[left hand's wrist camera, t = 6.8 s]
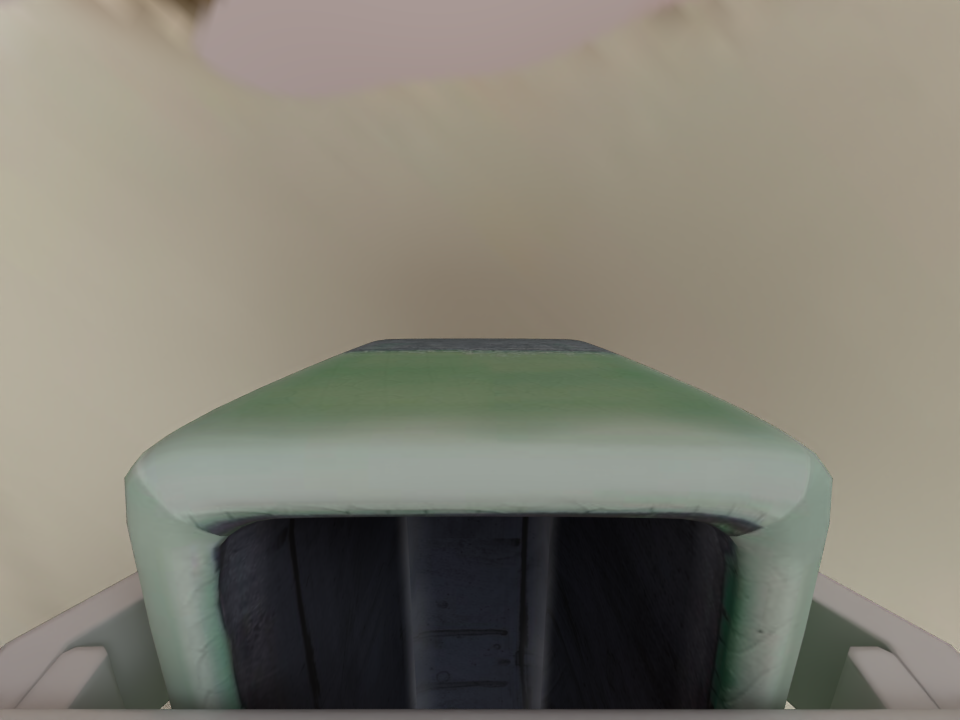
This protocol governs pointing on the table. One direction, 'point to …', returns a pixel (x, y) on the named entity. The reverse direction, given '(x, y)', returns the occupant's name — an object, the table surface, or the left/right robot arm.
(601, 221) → the table surface
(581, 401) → the planter
